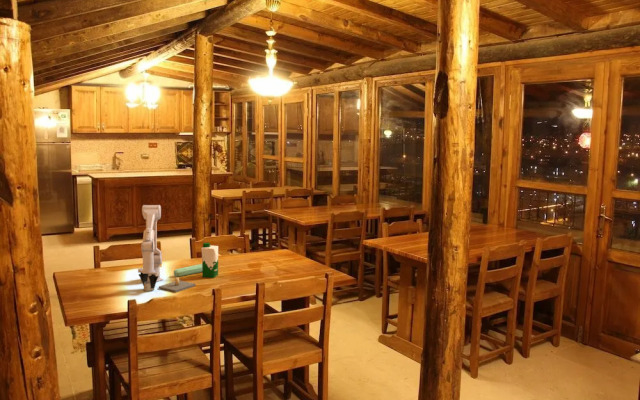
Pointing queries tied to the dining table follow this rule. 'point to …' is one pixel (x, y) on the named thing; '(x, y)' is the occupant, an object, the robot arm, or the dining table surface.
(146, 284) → the hub ring
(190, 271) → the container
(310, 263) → the dining table surface
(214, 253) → the milk carton
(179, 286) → the shaft stand
